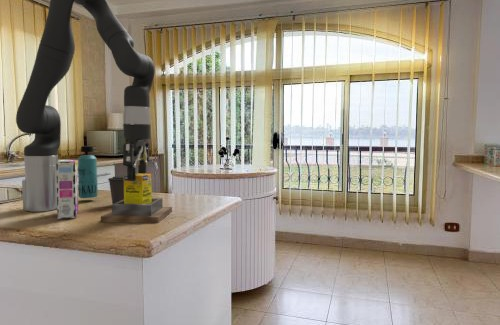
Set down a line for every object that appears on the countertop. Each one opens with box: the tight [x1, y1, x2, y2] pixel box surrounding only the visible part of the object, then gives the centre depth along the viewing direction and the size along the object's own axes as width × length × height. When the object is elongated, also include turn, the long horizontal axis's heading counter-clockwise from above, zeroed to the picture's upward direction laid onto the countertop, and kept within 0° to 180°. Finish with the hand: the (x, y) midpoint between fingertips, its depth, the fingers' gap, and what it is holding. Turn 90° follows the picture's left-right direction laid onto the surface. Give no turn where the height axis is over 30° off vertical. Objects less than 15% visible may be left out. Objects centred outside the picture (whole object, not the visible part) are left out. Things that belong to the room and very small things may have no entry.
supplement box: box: [123, 172, 153, 204], centre depth 101 cm, size 6×6×11 cm
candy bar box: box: [56, 159, 79, 221], centre depth 102 cm, size 11×5×16 cm, turn 23°
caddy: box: [100, 197, 173, 224], centre depth 101 cm, size 16×14×4 cm
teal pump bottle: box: [77, 145, 99, 199], centre depth 125 cm, size 6×7×20 cm
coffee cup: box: [107, 174, 125, 205], centre depth 117 cm, size 8×8×10 cm
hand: (137, 178), depth 101 cm, fingers open, 8 cm apart
